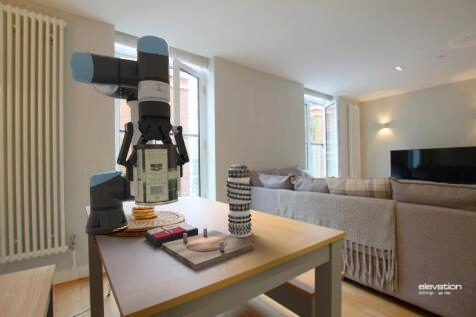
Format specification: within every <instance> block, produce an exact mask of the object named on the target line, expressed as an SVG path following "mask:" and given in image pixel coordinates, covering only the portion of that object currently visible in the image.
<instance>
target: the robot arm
mask: <svg viewBox="0 0 476 317" xmlns="http://www.w3.org/2000/svg"><path fill="white" fill-rule="evenodd" d="M136 52H137V53H136V55H137V56H136V57H137V58H136V59H134V58H133V59H132V58H127V57H126V58H125V57H119V56H111V55H104V54H99V53H93V52H88V51H85V52H83V51H73V52H71V54H70V71H71V77H72V79H73V80H74V81H75V82H76V83H79V84H86V85H90V86H91V87H92V88H93V90H94V91H96V92H97V93H99V94H101V95H103V96H106V97H108V98H112V99H118V100H125V101H126V102H125V103H126V105H127V106H128V107H129V108H130V109H129V110H130V121H129V122H125V123H124V135H123V139H122V142H121V145H120V148H119V153H118V156H117V158H116V164H117V165H119V166H122V167H124V168H125V173H123V170H122V169H118V170H110V171H106V172H99V173H94V174H92V175H90V177H89V186H88V188H89V214H88V218H87V221H86V223H85V227H84V228H85V229H84V233H85V234H86V235H93V236H96V235H97V236H98V235H99V236H100V235H109V234H111V233H110V232H112V231H113V230H114V229H117V228H121V227H124V226H127V225H128V226H129V220H128V217H127V216H126V213H125V210H124V202H135V196H138V177H137V168H136V167H134V164H135V162H136V161H137V149H136V150H134V149H133V145H140V144H154V142H153V141H158V142H159V141H160V142H161V144H174V143H173V139H172V138H171V135H170V133H172V134H173V136H174V137H173V138H174V141H175V145H177V187H178V192H181V178H183V175H184V173H183V172H184V168H183V167H184V166H185V165H186V164H188V163H190V156H189V153H188V151H187V146H186V142H185V138H184V135H183V126H182V125H178V126H177V125H172V122H171V119H172V118H171V117H172V116H171V115H172V112H171V111H172V110H171V106H172V105H171V104H170V102H171V82H170V81H171V80H170V79H171V74H170V68H171V67H170V66H171V65H170V57H171V53H170V46H169V43H168V41H167V39H165V38H163V37H161V36H159V35H153V34H145V35H144V34H143V35H141V36H140V37H138V39H137V42H136ZM130 147H131V151H130ZM129 151H130V152H131V153H130V155H129ZM128 155H129V156H128ZM108 233H109V234H108Z"/></svg>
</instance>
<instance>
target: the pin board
mask: <svg viewBox="0 0 476 317" xmlns="http://www.w3.org/2000/svg"><path fill="white" fill-rule="evenodd" d="M161 249H162V250H163V251H165V252H166V253H168V254H169V255H171V256H172V257H175V258H176V259H177V260H179V261H181V262H182V263H183V264H185V265H187V266H188V267H189V268H191V269H193V270H195V271H199V270H201V269H203V268H206V267H209V266H212V265H214V264H217V263H219V262H222V261H225V260H229V259H230V258H234V257H235V256H236V257H237V256H239V255H241V254H243V253H246V252H249V251H251V250H254V243H252V242H249V241H246V240H244V239H240V238H239V237H232V236H230V235H229V234H227V233H223V232H221V231H218V230H215V229H214V230H209V231H208V228H206V227H204V228H203V232H201V233H198V234H197V235H194V236H190V237H187V233H184V234H183V238H182V239H178V240H175V241H171V242H167V243H163V244H162V247H161Z"/></svg>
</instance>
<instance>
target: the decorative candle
mask: <svg viewBox="0 0 476 317" xmlns="http://www.w3.org/2000/svg"><path fill="white" fill-rule="evenodd" d="M227 170H228V171H227V172H228V175H227V176H228V178H227V180H226V181H225V183H226V185H225V186H226V187H227V189H226V196H227V197H228V198H227V203H228V214H227V218H228V219H227V221H228V223H227V227H228V228H227V230H228V235H230V236H232V237H235V238H245V237H246V238H247V237H250V236H251V235H252V230H253V229H252V226H253V225H252V223H251V221H252V218H251V217H252V214H251V208H250V205H251V204H250V203H251V202H252V198H251V196H252V194H251V193H250V192H251V191H252V188H251V187H252V184H251V183H250V180H251V179H250V168H249V167H248V165H247V164H232V165H230V167H229V168H228V169H227Z"/></svg>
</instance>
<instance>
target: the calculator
mask: <svg viewBox="0 0 476 317" xmlns="http://www.w3.org/2000/svg"><path fill="white" fill-rule="evenodd" d="M184 233H187V237H190V236H194V235H197V234H199V228H198V227H195V226H194V225H192V224H189V223H187V222H179V223H175V224H174V223H172V224H169V225H165V226H161V227H156V228H153V229H152V228H151V229H149V230H147V231H146V232H145V233H144V235H145V241H146V242H148V243H149V244H150V245H151V246H152V247H154V248H155V249H160V248H161V249H162V244H163V243H167V242H171V241H175V240H178V239H182V238H183V234H184Z"/></svg>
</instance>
